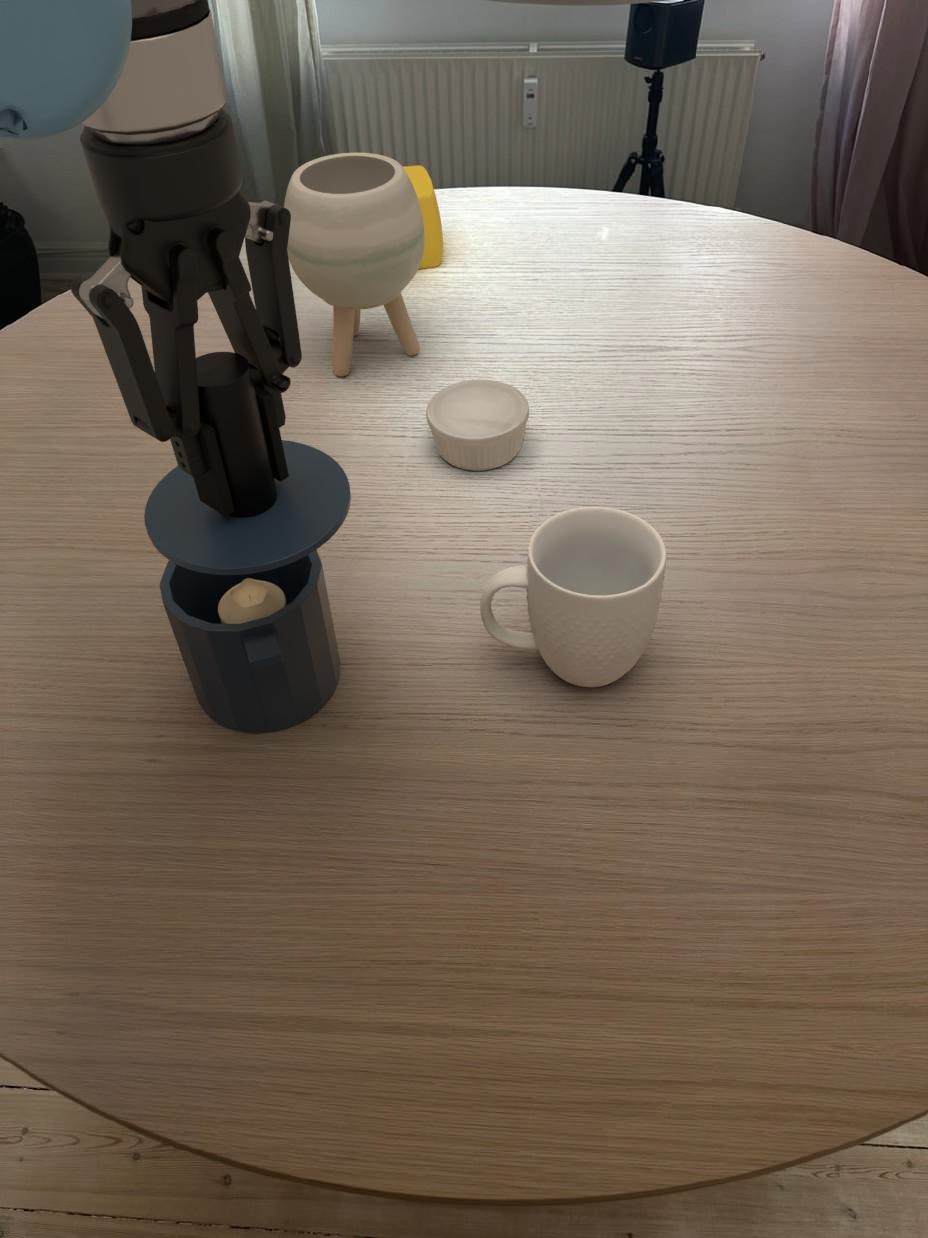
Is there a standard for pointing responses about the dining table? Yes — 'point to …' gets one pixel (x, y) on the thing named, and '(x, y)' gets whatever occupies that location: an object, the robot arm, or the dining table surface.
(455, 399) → the ramekin
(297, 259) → the planter
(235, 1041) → the dining table surface
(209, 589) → the pot
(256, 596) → the candle
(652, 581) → the mug
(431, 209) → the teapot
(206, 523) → the lid
